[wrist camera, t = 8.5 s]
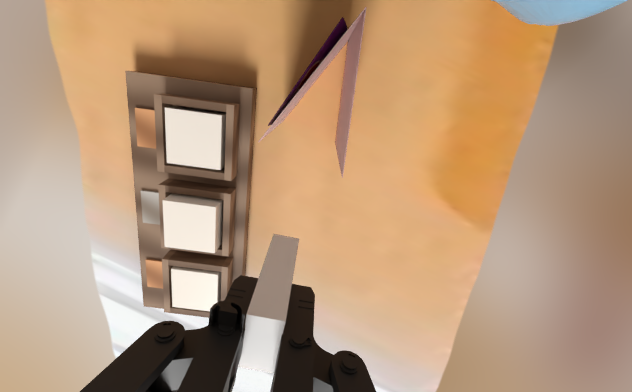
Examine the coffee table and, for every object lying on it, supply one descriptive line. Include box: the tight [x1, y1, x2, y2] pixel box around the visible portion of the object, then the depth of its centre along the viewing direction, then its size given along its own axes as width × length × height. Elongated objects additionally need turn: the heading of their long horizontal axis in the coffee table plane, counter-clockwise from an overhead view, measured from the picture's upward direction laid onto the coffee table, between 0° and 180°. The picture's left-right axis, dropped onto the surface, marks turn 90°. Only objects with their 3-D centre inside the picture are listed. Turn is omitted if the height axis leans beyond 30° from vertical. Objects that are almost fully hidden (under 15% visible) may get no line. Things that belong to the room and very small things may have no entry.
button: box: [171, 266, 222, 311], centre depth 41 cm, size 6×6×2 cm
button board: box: [126, 71, 257, 317], centre depth 39 cm, size 32×14×4 cm, turn 172°
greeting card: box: [259, 7, 366, 178], centre depth 29 cm, size 11×7×15 cm, turn 139°
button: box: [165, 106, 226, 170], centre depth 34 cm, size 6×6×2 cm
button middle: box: [163, 193, 223, 253], centre depth 36 cm, size 6×6×2 cm
